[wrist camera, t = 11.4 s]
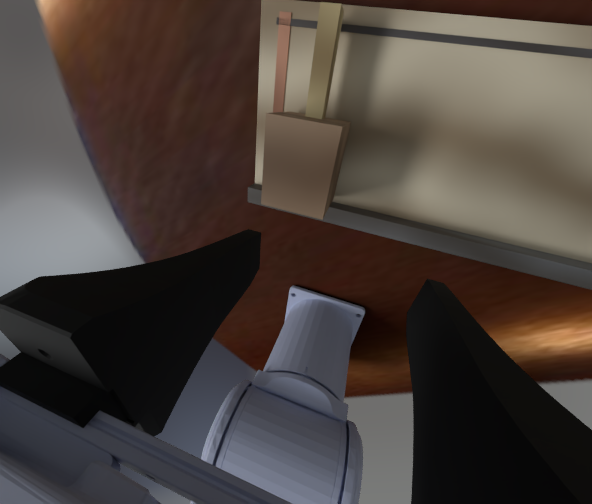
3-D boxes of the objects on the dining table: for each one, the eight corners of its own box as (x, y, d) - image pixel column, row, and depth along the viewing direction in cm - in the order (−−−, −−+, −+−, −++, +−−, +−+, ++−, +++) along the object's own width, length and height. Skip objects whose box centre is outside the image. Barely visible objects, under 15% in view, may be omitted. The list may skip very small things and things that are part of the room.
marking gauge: (333, 198, 18) (322, 219, 14) (282, 186, 18) (260, 204, 15) (375, 18, 12) (372, -14, 9) (300, 11, 13) (272, -21, 10)
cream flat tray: (639, 287, 16) (679, 315, 14) (261, 194, 21) (247, 204, 19) (915, 66, 10) (1072, 55, 7) (271, 6, 15) (252, -12, 12)
